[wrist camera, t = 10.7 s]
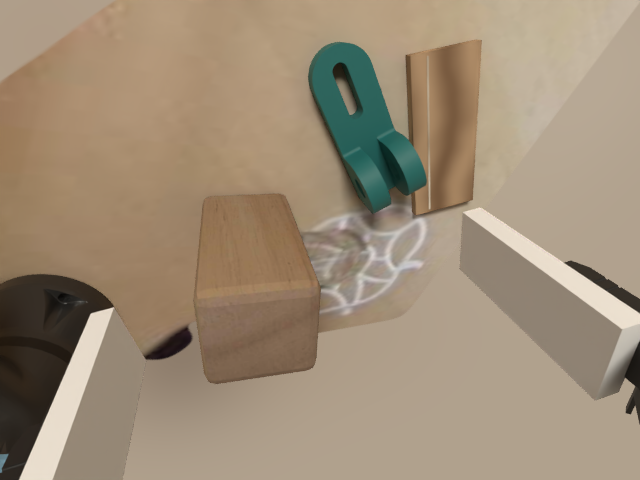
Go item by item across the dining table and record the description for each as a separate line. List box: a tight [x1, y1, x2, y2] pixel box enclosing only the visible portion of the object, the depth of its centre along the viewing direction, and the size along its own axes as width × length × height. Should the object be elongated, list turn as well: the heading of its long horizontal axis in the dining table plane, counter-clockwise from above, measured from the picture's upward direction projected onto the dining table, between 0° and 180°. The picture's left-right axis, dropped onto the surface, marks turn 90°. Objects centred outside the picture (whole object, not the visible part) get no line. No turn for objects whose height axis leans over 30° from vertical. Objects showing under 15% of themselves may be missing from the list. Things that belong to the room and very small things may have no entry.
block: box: [193, 194, 321, 384], centre depth 39 cm, size 10×10×20 cm
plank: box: [406, 40, 482, 215], centre depth 46 cm, size 8×20×1 cm, turn 10°
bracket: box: [308, 42, 427, 214], centre depth 41 cm, size 18×7×8 cm, turn 25°
